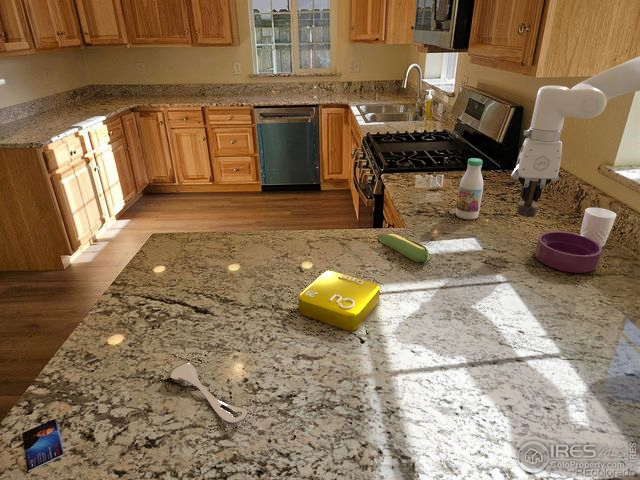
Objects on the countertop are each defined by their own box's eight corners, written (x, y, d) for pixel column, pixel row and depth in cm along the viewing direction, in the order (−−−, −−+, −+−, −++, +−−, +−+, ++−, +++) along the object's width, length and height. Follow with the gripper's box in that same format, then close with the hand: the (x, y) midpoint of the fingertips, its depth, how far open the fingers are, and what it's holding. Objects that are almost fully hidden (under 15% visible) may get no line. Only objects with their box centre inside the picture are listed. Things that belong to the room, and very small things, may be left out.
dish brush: (533, 210, 125) (540, 177, 121) (538, 217, 120) (547, 183, 116) (513, 209, 126) (521, 176, 121) (518, 216, 121) (526, 182, 117)
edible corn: (420, 268, 116) (422, 253, 114) (372, 241, 130) (373, 228, 128) (433, 262, 118) (435, 248, 116) (384, 237, 133) (385, 224, 131)
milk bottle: (458, 209, 153) (466, 155, 145) (480, 214, 150) (490, 158, 141) (452, 217, 147) (460, 160, 139) (475, 221, 144) (485, 164, 135)
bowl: (583, 249, 125) (588, 233, 122) (606, 276, 111) (612, 258, 109) (527, 246, 127) (531, 229, 124) (544, 272, 113) (549, 254, 111)
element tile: (381, 299, 102) (383, 282, 100) (354, 333, 90) (354, 315, 88) (327, 283, 109) (327, 266, 107) (295, 313, 97) (294, 295, 95)
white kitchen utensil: (253, 400, 69) (231, 418, 66) (256, 416, 71) (234, 435, 67) (183, 353, 81) (161, 366, 78) (187, 368, 83) (165, 381, 79)
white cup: (580, 247, 126) (590, 216, 122) (573, 236, 133) (581, 206, 129) (610, 250, 125) (620, 218, 120) (601, 238, 131) (610, 208, 127)
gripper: (516, 137, 111) (503, 203, 119) (582, 139, 109) (563, 206, 117) (509, 131, 117) (497, 194, 126) (571, 133, 115) (554, 197, 123)
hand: (529, 199), depth 121 cm, fingers closed on dish brush
